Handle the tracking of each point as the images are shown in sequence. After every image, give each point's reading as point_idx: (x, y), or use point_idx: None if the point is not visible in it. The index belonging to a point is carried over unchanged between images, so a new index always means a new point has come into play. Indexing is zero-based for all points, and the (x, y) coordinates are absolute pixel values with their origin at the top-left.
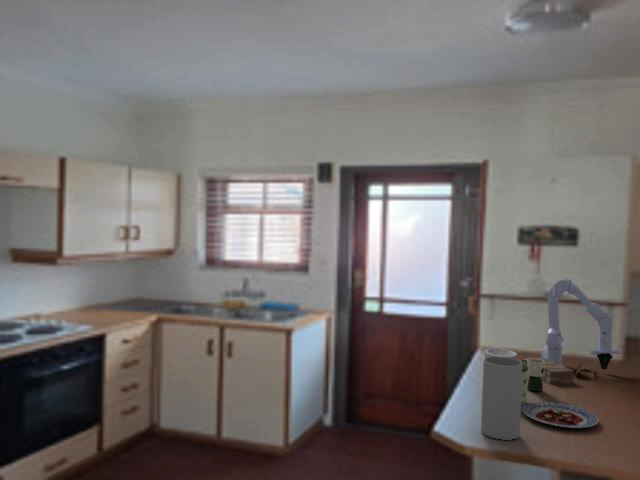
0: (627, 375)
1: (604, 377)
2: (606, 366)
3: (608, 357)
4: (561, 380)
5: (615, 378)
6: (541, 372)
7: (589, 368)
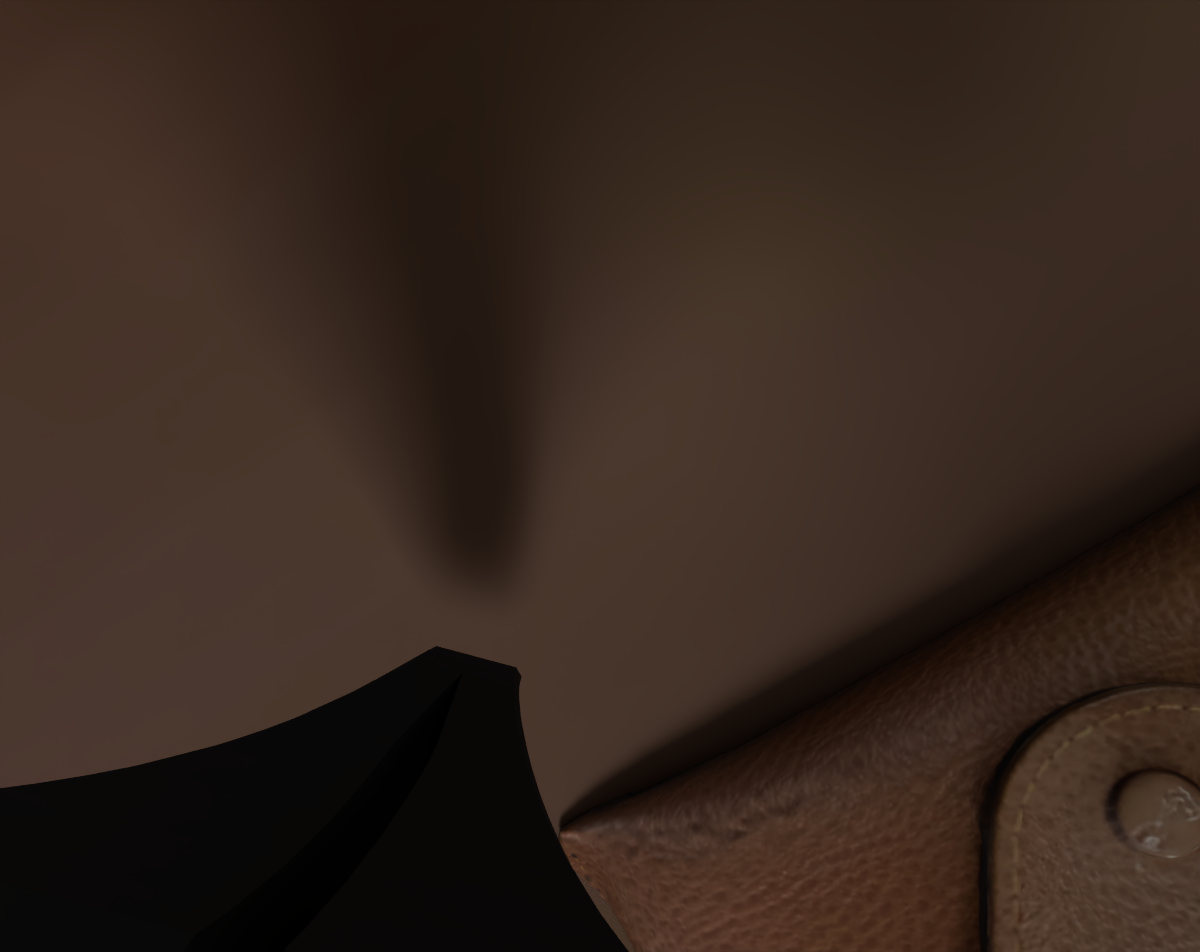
0: (15, 238)
1: (860, 393)
2: (437, 684)
3: (244, 918)
4: None
5: (650, 177)
6: None
7: (1046, 891)
